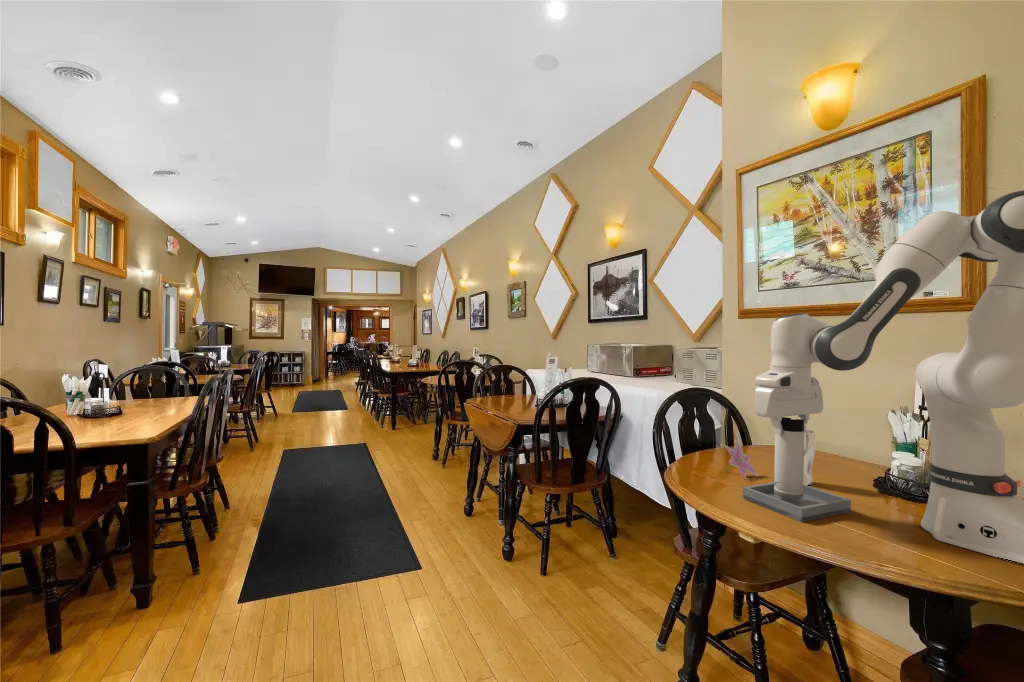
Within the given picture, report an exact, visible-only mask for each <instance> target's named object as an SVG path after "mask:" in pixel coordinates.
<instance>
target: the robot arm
mask: <svg viewBox="0 0 1024 682" xmlns="http://www.w3.org/2000/svg"><path fill="white" fill-rule="evenodd" d="M957 257H960V258H966V259H971V260H974V261H976V262H977V261H978V262H982V263H998V264H997V270H996V273H995V275H994V276H993V278H992V279H991V281H990V282H989V284H988V285H987V287H986V289H985V290H984V292H983V293H982V294H981V296H980V298H979V299H978V301H977V302H976V304H975V305H974V307H973V309H972V310H971V312H970V313H969V315H968V317H967V319H966V325H967V327H968V329H967V330H968V331H967V335H966V339H965V343H964V345H963V347H962V349H961V350H960V351H958V352H956V351H955V352H954V351H946V352H940V353H937V354H936V353H935V354H934V355H930V356H928V357H926V358H924V359H923V360H921V361H920V362H919V363H918V365H917V366H916V369H915V380H916V382H917V384H918V386H919V387H920V388H921V391H922V393H923V396H924V401H925V404H926V408H927V413H928V417H929V423H930V428H931V462H930V463H928V473H927V474H928V477H927V478H928V482H927V483H928V487H929V493H928V500H927V503H926V508H925V512H924V514H923V516H922V519H921V522H920V524H919V525H920V526H921V527H922V528H923V529H924V530H925V531H927V532H929V534H931V535H932V536H933V538H934V539H935V540H936V541H938V542H944V543H947V544H950V545H954V546H956V547H960V548H964V549H967V550H971V551H974V552H977V553H981V554H984V555H988V556H990V557H991V556H992V557H993V558H998V557H999V558H998V559H1001V558H1004V559H1003V560H1005V559H1008V560H1012V561H1017V562H1020V563H1023V564H1024V499H1022V498H1021V497H1020V496H1019V495H1018V487H1021V486H1022V485H1021V482H1022V480H1013V479H1012V478H1011V477H1010V476H1008V475H1007V473H1006V472H1005V463H1006V461H1005V460H1006V459H1005V458H1006V437H1005V435H1004V433H1003V431H1002V430H1001V429H1000V427H999V426H998V424H997V422H996V420H995V418H994V415H993V412H992V409H1005V408H1007V409H1008V408H1013V407H1018V406H1020V405H1022V404H1024V190H1017V191H1013V192H1011V193H1008V194H1004V195H1002V196H999V197H998V198H996V199H994V200H993V201H992V202H990V203H989V204H988V205H987V206H986V207H985V208H984V209H983V210H982V211H980V212H979V213H977V214H976V215H970V216H966V215H965V216H964V215H961V214H960V213H957V212H954V211H950V210H948V211H947V210H941V211H940V210H939V211H933V212H931V213H929V214H927V215H926V216H924V217H922V218H921V219H920V220H919V221H917V222H916V223H915V224H913V226H911V227H910V228H909V229H907V230H906V231H905V233H903V234H902V235H901V236H900V237H899V238H897V240H896V241H895V242H894V243H893V244H892V245H891V247H890V248H889V249H887V250H886V252H885V253H884V254H883V256H882V257H881V259H880V260H879V262H878V263H877V265H876V267H875V268H874V270H873V271H874V272H873V275H874V279H875V283H874V287H873V289H872V291H871V292H870V293H869V294H868V296H867V297H866V298H865V299H864V300H862V301H863V302H862V303H861V304H860V305H859V306H858V307H857V308H856V309H855V310H854V311H853V312H852V313H851V314H850V316H849V317H848V318H847V319H846V320H844V321H842V322H841V323H839V324H836V325H832V324H829V323H826V322H823V321H821V320H818V319H816V318H814V317H812V316H810V315H809V314H808V313H805V312H799V313H792V314H787V315H782V316H779V317H777V318H776V319H775V320H774V321H773V323H772V326H771V331H770V339H769V340H770V343H769V345H770V346H769V349H770V352H771V360H770V364H769V370H767V371H766V372H763V373H761V374H759V375H757V376H756V377H755V378H754V384H755V386H757V387H756V388H755V391H754V412H755V414H756V415H757V416H758V417H761V418H762V417H763V418H767V419H768V418H769V420H770V423H771V424H772V426H773V433H774V435H775V434H778V435H781V434H784V427H782V426H781V423H780V421H782V417H791V416H792V417H794V416H797V418H798V419H801V420H804V427H803V428H804V432H805V431H806V430H807V429H806V427H807V425H808V422H809V420H810V415H814V414H815V415H816V414H822V412H823V410H824V399H823V398H824V397H823V396H824V395H823V391H822V388H821V385H820V381H818V379H817V378H816V377H812V364H813V363H819V364H821V365H823V366H826V367H827V368H830V370H831V369H832V370H835V371H839V372H841V371H843V372H844V371H851V370H852V371H853V370H854V369H857V368H858V367H861V366H862V365H863V364H865V363H866V361H867V360H868V358H870V356H871V353H872V349H873V346H874V343H875V340H876V338H877V337H878V336H879V334H880V332H881V331H882V330H883V329H884V328H885V327H886V326H887V325H888V323H889V322H891V320H892V319H893V318H894V317H895V316H896V315H897V314H898V313H899V311H901V309H902V308H904V307H903V306H905V305H906V304H907V302H909V301H910V300H911V299H912V298H914V297H915V296H916V295H918V293H920V292H922V290H923V289H926V287H928V286H929V285H930V284H931V283H933V281H934V280H935V279H937V278H938V277H939V276H940V274H942V272H944V271H945V270H946V269H947V267H948V266H950V264H951V263H952V262H953V261H954V260H955V259H957ZM1008 560H1007V561H1008ZM1012 561H1011V562H1012Z"/></svg>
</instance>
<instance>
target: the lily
mask: <svg viewBox="0 0 1024 682" xmlns="http://www.w3.org/2000/svg"><path fill="white" fill-rule="evenodd" d="M724 447H725V449H726V450H727V452H728V453H729V455H730V456H731V457H730V458H729V461H728V464H729V466H728V467H727V469H726V470H725V471H728V470H729V469H730V467H732V466H733V467H736V468H738V470H739V472H740V474H741V476H742V478H745V479H746V477H747V473H750V474H752V475H753V476H755V477H757V476H758V477H759V474H758V473H757V470H756V469H755V468H754V467H753V465H752V463H750V460H751V456H750V455H748V454H746V453H744V450H743V447H742V445H741V444H740V441H738V439H735V440H734V447H733V448H732V447H729V446H728V445H726V444H724Z"/></svg>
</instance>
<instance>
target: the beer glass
mask: <svg viewBox="0 0 1024 682" xmlns="http://www.w3.org/2000/svg"><path fill="white" fill-rule="evenodd" d="M815 454H816V438H815V431H814V430H811V429H806V431H805V432H804V474H803V485H810V486H813V485H814V482H813V476H812V467H813V463H814V459H815Z"/></svg>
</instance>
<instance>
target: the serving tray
mask: <svg viewBox="0 0 1024 682" xmlns="http://www.w3.org/2000/svg"><path fill="white" fill-rule="evenodd" d="M774 487H775V486H774V481H773V482H767V483H760V484H754V485H748V486H742V499H743V498H744V499H743V500H745V499H746V500H745V501H748V500H749V501H748V502H750V501H751V502H750V503H753V504H755V503H756V504H755V505H758V506H760V507H762V508H765V509H768V510H771V511H773V512H775V513H778V514H781V515H784V516H785V517H788V518H791V519H793V520H796V521H798V522H800V523H804V522H805V523H806V522H809V521H814V520H817V519H819V520H820V519H823V518H828V517H832V516H839V515H842V514H843V515H844V514H847V513H852V499H850V498H847V497H844V496H841V495H839V494H835V493H832V492H828V491H825V490H822V489H819V488H815V487H812V486H811V485H810V486H807V485H803V498H801V499H788V498H783V497H780V496H778V495H776V494H775V493H774Z"/></svg>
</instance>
